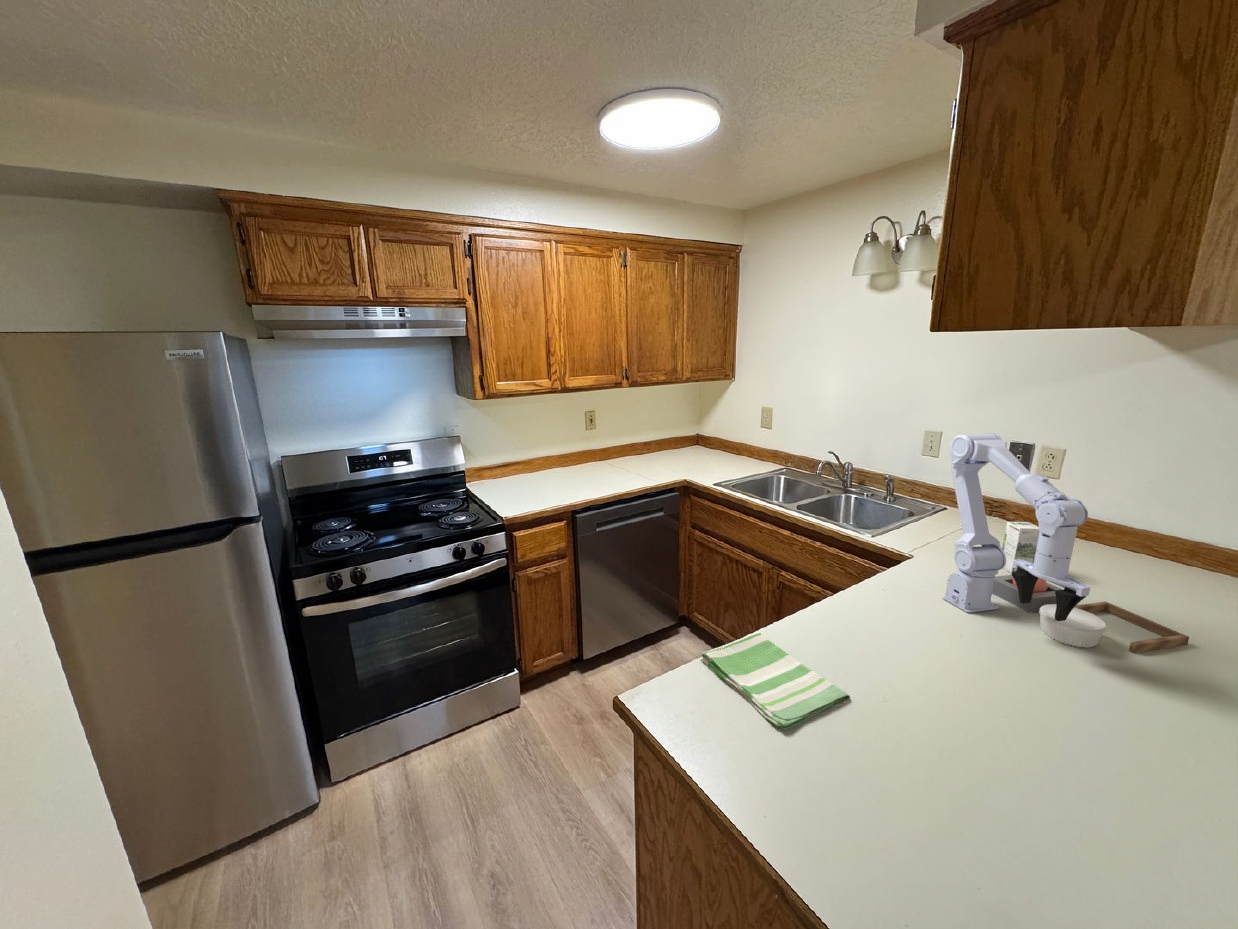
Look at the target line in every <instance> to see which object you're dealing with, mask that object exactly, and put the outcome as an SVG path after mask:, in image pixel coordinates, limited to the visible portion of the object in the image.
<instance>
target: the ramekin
mask: <svg viewBox="0 0 1238 929" xmlns="http://www.w3.org/2000/svg"><path fill="white" fill-rule="evenodd" d="M1056 605H1057V604H1048V605H1044V606H1042V607H1041V608H1040V611H1039V612H1038V613H1039V616H1040V628H1041V631H1042V632H1043V633H1044V634H1045V636H1047V635H1048V636H1047V637H1049V638H1050V639H1052V638H1053V639H1052V640H1054V639H1055V640H1054V641H1056V642H1058V641H1059V642H1058V643H1061V644H1063V643H1064V645H1067V644H1068V645H1067V646H1070V645H1072V646H1071V647H1074V646H1076V647H1075V648H1081V647H1085V648H1086V649H1088V648H1089V649H1090V648H1092V647H1094V646H1096V645H1098V643H1099V642H1100V640H1101V638H1102V636H1103V634H1104V632H1105V631H1107V630H1106V629H1107V624H1106V623H1107V622H1105V621H1104V620H1103V619H1102V618H1101V617H1099V616H1098V615H1096V614H1094V613H1089V612H1086V611H1084V610H1081V609H1078V608H1073V609H1072V611H1071V612H1070V614H1069V615H1068V617H1067V619H1066V620H1065V621H1057V620H1055V611H1056ZM1085 648H1084V649H1085Z"/></svg>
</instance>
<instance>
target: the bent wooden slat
mask: <svg viewBox="0 0 1238 929" xmlns="http://www.w3.org/2000/svg"><path fill="white" fill-rule="evenodd" d="M1074 608H1078V609H1081V610H1084V611H1086V612H1089V613H1091V614H1094V613H1103V612H1106V613H1109V614H1111V613H1112V614H1111V615H1113V614H1114V615H1113V616H1115V615H1116V616H1115V617H1117V618H1120V619H1123V620H1124V619H1126V620H1125V621H1127V620H1128V621H1127V622H1129V621H1130V622H1129V623H1131V622H1132V624H1133V623H1134V625H1136V626H1138V625H1139V626H1138V627H1140V626H1142V627H1141V628H1142V629H1145V628H1146V629H1145V630H1147V629H1148V630H1147V631H1149V632H1152V633H1154V632H1155V633H1154V634H1156V633H1157V634H1156V635H1159V636H1161V637H1156V638H1150V639H1144V640H1137V641H1132V642H1129V646H1128V647H1129V648H1128V652H1131V651H1132V652H1131V653H1133V654H1137V653H1138V652H1139V653H1145V652H1150V651H1149V650H1152V651H1157V650H1165V649H1170V648H1176V647H1183V646H1187V645H1188V644H1189V640H1190V636H1188V635H1186V634H1184V633H1182V632H1179V631H1178V630H1177V631H1176V630H1174V629H1173V628H1172V629H1171V628H1169V627H1168V626H1165V625H1162V624H1160V623H1157V622H1155V621H1153V620H1151V619H1148V618H1146V617H1144V616H1141V615H1138V614H1137V613H1134V612H1131V611H1129V610H1127V609H1124V608H1122V607H1120V606H1118V605H1114V604H1112V603H1110V602H1107V601H1100V602H1099V601H1098V602H1092V603H1084V604H1077V605H1076V606H1075V607H1074ZM1144 651H1145V652H1144ZM1139 653H1138V654H1139Z"/></svg>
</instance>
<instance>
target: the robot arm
mask: <svg viewBox="0 0 1238 929" xmlns="http://www.w3.org/2000/svg"><path fill="white" fill-rule="evenodd" d="M1007 445H1008V444H1007V441H1005V440H1004V439H1003V438H1001V436H999V435H998V434H997V433H981V434H979V433H978V434H964V433H962V434H958V435H956V436H955V437H954V438H952V441H951V442H950V443H949V445H948V451H949V456H950V463H951V465H950V466H951V475H952V481H953V486H954V492H955V496H956V497H955V498H956V503H957V508H958V514H959V521H960V525H961V526H960V527H961V530H962V535H961V536H960V537H959V538H958V539H957V540H956V541H955V542H954V548H955V549H954V555H953V558H954V563H955V565H956V567H957V570H958V571H956V572H953V573H951V574H950V575H949V576H948V577H947V583H946V589H945V595H942V597H941V598H942V599H943V600H945V601H947V602H949V603H950V604H952V605H954V606H955V607H957V608H959V609H960V610H962V611H964V612H966V613H968V614H969V613H977V612H985V611H993V610H994V611H995V610H998V609H999V608H1000V607H999V606H998V605H996V604H994V603H991V602H992V595H993V594H992V590H993V584H994V579H995V577H996V575H998V574H999V571H1000V570H1002V569H1004V567H1005V565H1006V556H1005V553H1004V552H1003V550H1002V547H1001V543H1000V540H999V539H998V538H996V537H995V536H994V535H992V534H991V533H990V530H989V525H988V519H987V515H986V510H985V505H984V504H985V503H984V498H983V494H982V489H981V483H980V479H979V472H980V470H981V469H982V468H983V467H985V466H986V465H988V464H989V463H991V464H992V465H993V466H995V467H996V468H997V469H998V470H1000V471H1001V472H1002V473H1003V474H1005V475H1006V476H1007V477H1008V478H1009V479H1011V480H1012V481H1013V482H1014V483H1015V487H1014V489H1015V492H1016V493H1018V494H1019V495H1020V497H1022V498H1023V499H1024V500H1025V501H1026V502H1027V503H1028V504H1029V505H1030V506H1031V507H1032V508H1033V509H1034V510H1035V517H1036V519H1037V521H1038V526H1037V527H1038V529H1039V532H1040V533H1039V538H1038V543H1037V548H1036V554H1035V559H1034V563H1031V562H1027V561H1024V560H1022V559H1016V560H1013V566H1012V567H1013V568H1015V569H1017V570H1016V571H1013V572H1012V573H1011V575H1012V576H1013V578H1014V580H1015V582H1016V585H1017V588H1018V592H1019V599H1020V603H1022V604H1025V603H1030V601H1031V599H1032V595H1033V590H1034V587H1035V584H1036V582H1037V580H1038V578H1041V579H1044V580H1046V582H1048V583H1050V584H1052V585H1055V586H1057V587H1059V588H1062V589H1063V590H1055V594H1056V602H1057V605H1056V611H1055V620H1057V621H1065V620H1066V619H1067V617H1068V615H1069V614H1070V612H1071V611H1072V609H1073V608H1074V607H1075V606H1076V605H1079V603H1080V602H1081V601H1082V600H1084V599H1085V598H1087V597H1088V596H1090V591H1091V586H1089V585H1086V584H1084V583H1083V582H1080V581H1079V580H1077V579H1076V578H1074V577H1072V576H1070V575H1069V571H1070V570H1069V569H1070V565H1071V560H1072V556H1073V552H1074V545H1075V540H1076V536H1077V533H1078V532H1077V531H1078V526H1082V525H1084V524H1085V523H1086V522H1087V520H1088V517H1089V513H1088V512H1089V511H1088V509H1087V507H1086V505H1085V504H1084V503H1083V502H1082V500H1080V499H1077V498H1074V497H1072V498H1071V497H1069V496H1067V495H1066V493H1064V492H1063V491H1060V490H1059V489H1058V488H1057V487H1055V486H1054V485H1053V484H1052V483H1051V482H1050V481H1049V480H1050V479H1049V477H1047V476H1046V475H1042V474H1040V473H1031V472H1030V471H1029V470H1028V468H1026V467H1025V466H1024V465H1023V464H1022V462H1021V461H1020V460H1019V459H1018V458H1017V457H1016V456H1015V455H1014V454H1013V453H1012V452H1011V451H1010V450H1009V449H1008V448H1007ZM977 545H978V546H977ZM979 545H980V546H979Z"/></svg>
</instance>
